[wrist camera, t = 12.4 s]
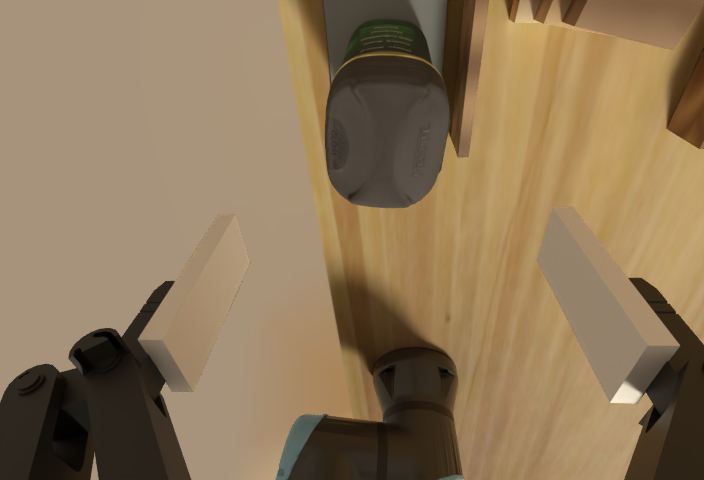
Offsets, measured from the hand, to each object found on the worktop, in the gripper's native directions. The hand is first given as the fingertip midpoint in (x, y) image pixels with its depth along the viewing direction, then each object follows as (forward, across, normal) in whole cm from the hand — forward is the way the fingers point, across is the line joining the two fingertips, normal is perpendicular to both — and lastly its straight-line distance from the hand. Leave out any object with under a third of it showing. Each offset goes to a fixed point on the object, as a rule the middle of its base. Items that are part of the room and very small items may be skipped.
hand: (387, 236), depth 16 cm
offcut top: (+22, -19, -6) cm, 30 cm away
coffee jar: (+26, 0, 0) cm, 27 cm away
